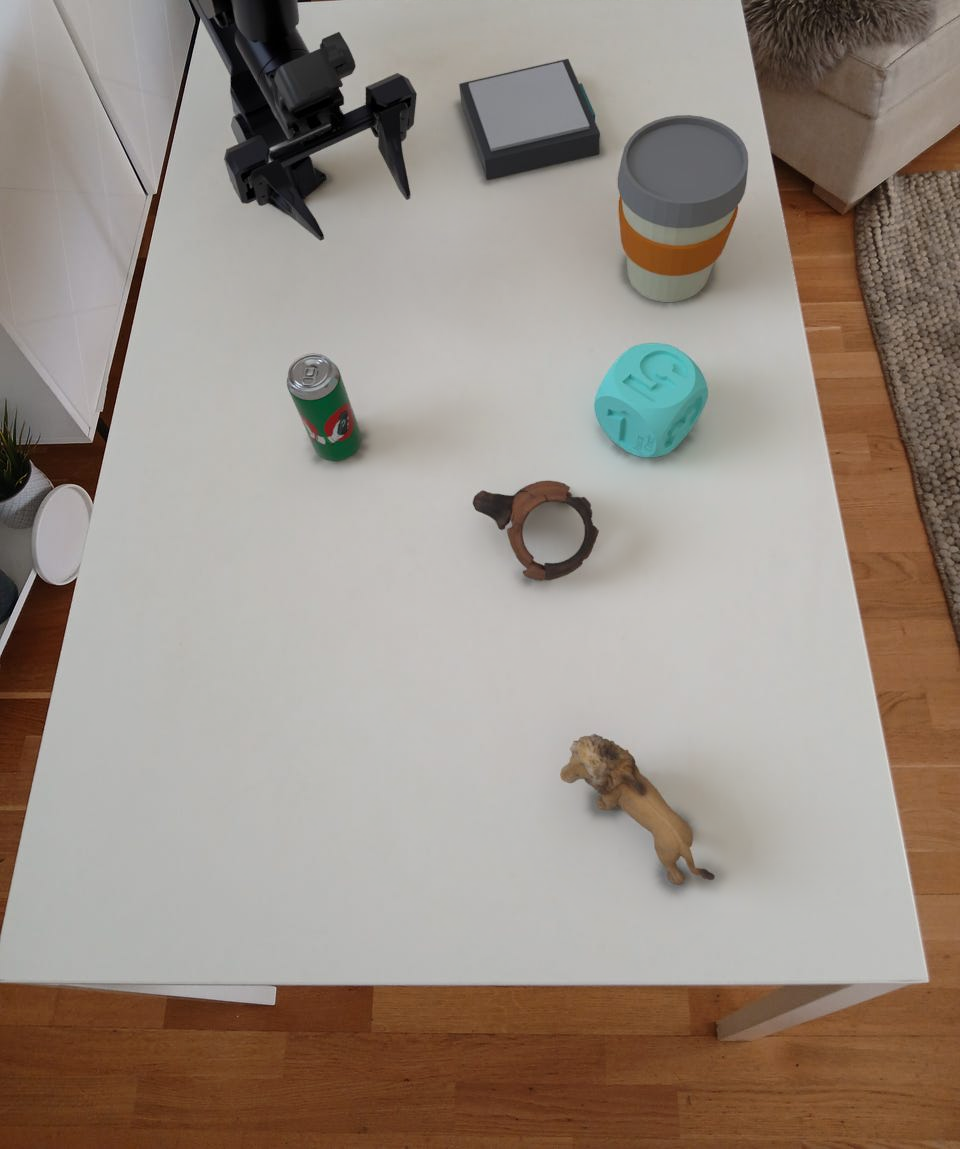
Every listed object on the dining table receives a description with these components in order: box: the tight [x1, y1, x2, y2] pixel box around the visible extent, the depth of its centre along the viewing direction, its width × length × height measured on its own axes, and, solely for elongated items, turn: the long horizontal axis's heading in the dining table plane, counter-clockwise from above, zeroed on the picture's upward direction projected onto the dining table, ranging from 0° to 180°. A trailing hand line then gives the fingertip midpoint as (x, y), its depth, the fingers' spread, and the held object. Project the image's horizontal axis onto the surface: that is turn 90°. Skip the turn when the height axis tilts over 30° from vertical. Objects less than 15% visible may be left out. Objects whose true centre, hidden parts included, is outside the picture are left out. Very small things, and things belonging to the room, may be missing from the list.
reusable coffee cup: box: [617, 114, 749, 303], centre depth 94 cm, size 12×13×15 cm
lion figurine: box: [559, 733, 716, 885], centre depth 72 cm, size 15×5×9 cm, turn 50°
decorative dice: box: [593, 342, 709, 458], centre depth 89 cm, size 8×8×8 cm
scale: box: [458, 58, 601, 181], centre depth 111 cm, size 15×14×4 cm
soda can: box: [286, 353, 363, 462], centre depth 89 cm, size 5×5×12 cm
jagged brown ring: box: [472, 480, 600, 582], centre depth 86 cm, size 12×10×8 cm
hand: (365, 217), depth 86 cm, fingers open, 9 cm apart
